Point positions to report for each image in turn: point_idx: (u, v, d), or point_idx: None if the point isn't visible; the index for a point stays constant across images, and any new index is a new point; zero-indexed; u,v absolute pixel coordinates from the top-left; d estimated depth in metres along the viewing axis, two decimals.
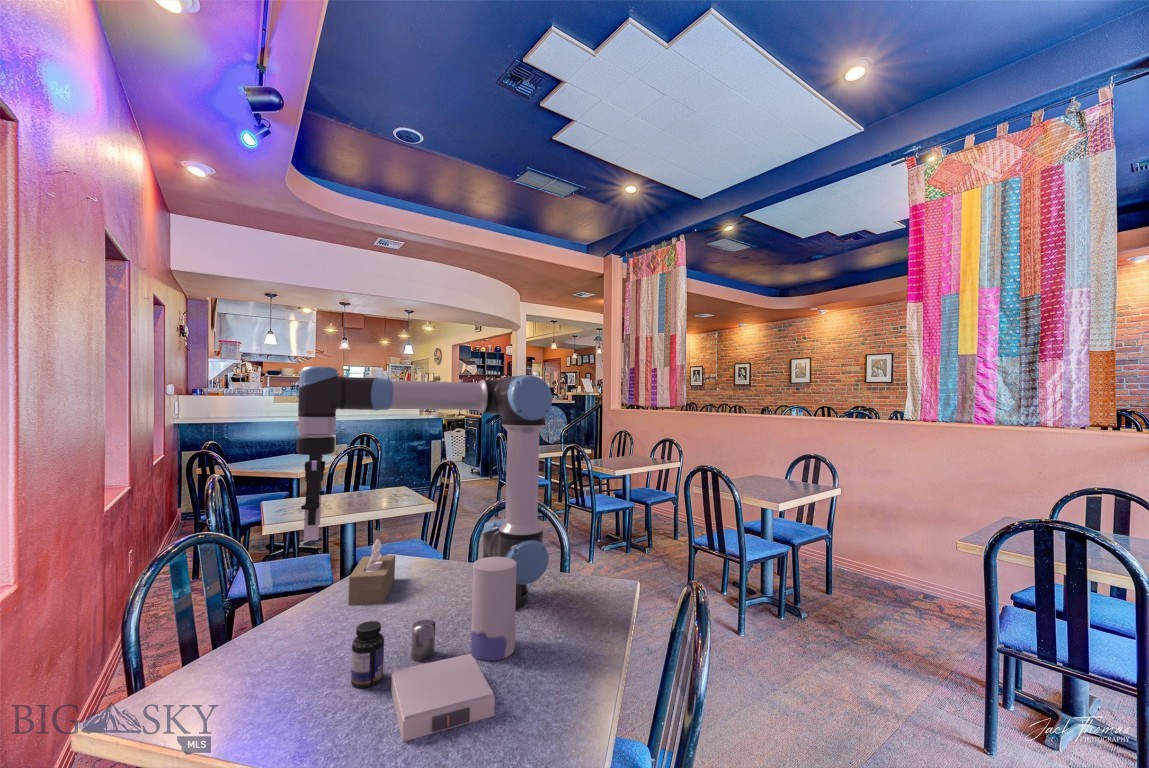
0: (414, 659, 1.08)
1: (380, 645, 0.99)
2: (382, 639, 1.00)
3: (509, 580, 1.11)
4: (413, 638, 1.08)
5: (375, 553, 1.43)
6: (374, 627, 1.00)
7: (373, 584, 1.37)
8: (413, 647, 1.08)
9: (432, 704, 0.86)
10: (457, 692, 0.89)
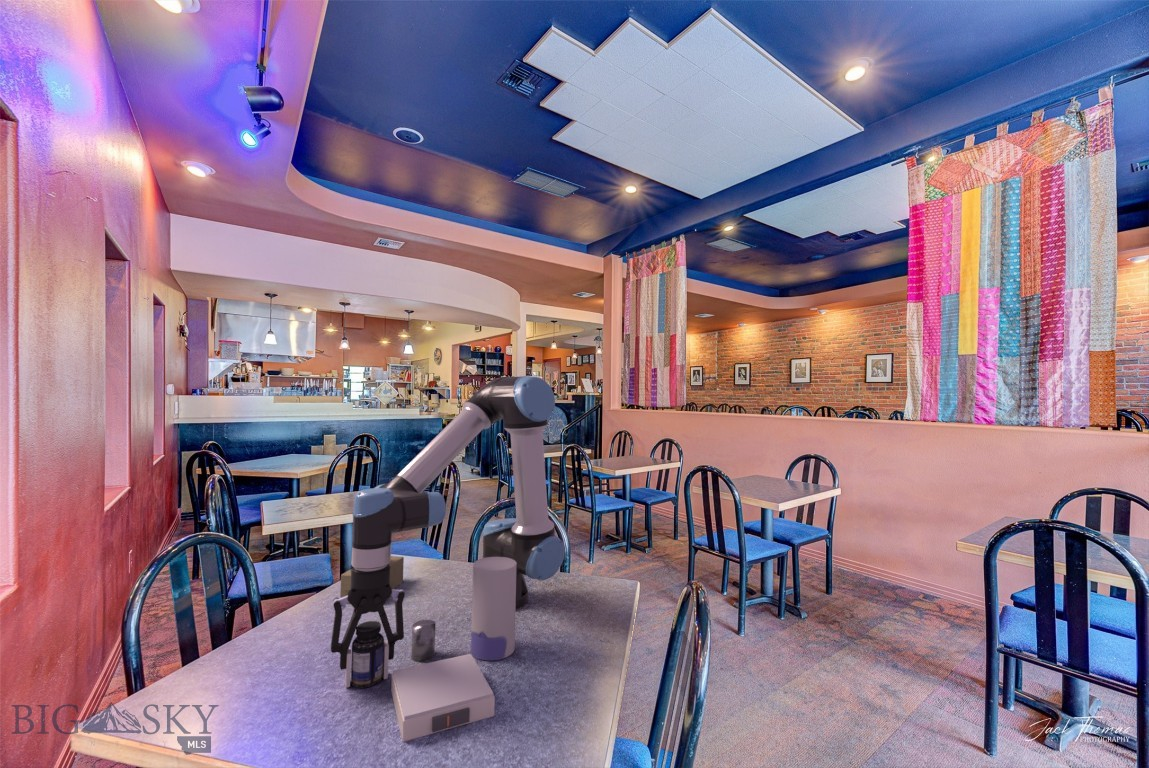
0: (414, 659, 1.08)
1: (380, 645, 0.99)
2: (382, 639, 1.00)
3: (510, 580, 1.11)
4: (413, 638, 1.08)
5: None
6: (374, 627, 1.00)
7: None
8: (413, 647, 1.08)
9: (432, 704, 0.86)
10: (457, 692, 0.89)
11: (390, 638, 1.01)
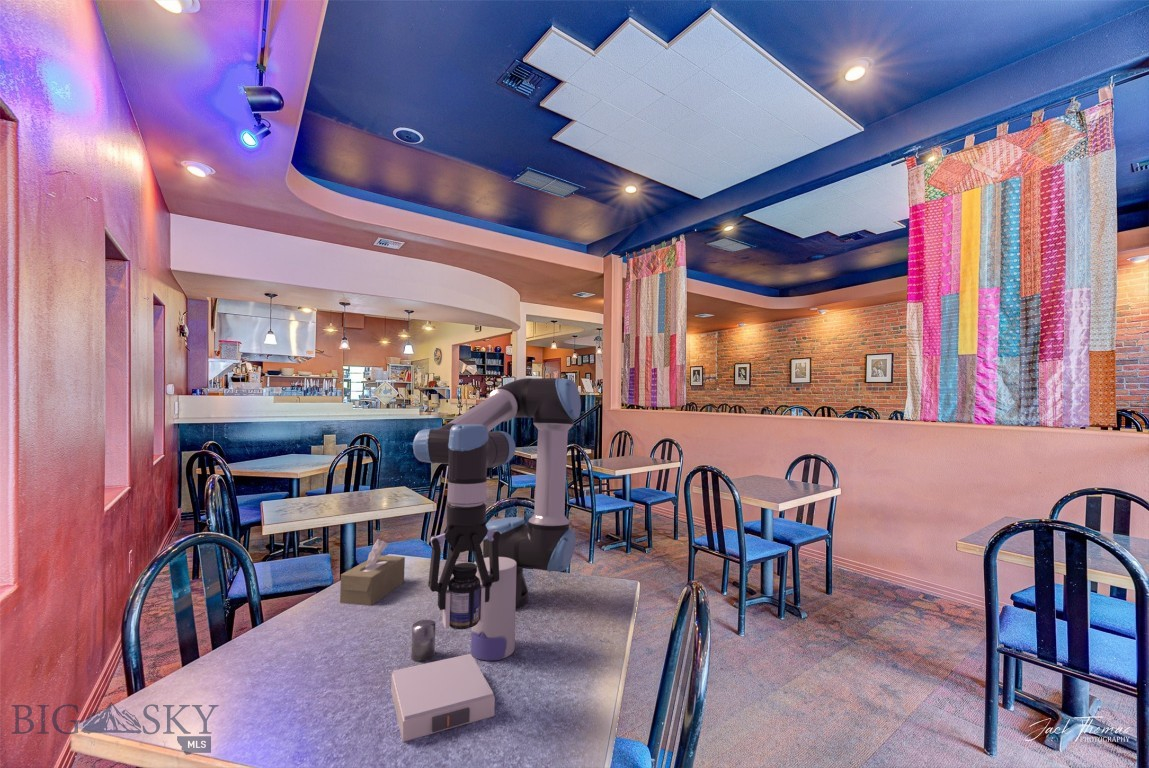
0: (414, 659, 1.08)
1: (478, 586, 0.95)
2: (479, 580, 0.96)
3: (509, 580, 1.11)
4: (413, 638, 1.08)
5: (370, 553, 1.42)
6: (471, 567, 0.95)
7: (361, 584, 1.37)
8: (413, 647, 1.08)
9: (432, 704, 0.86)
10: (457, 692, 0.89)
11: (486, 579, 0.96)
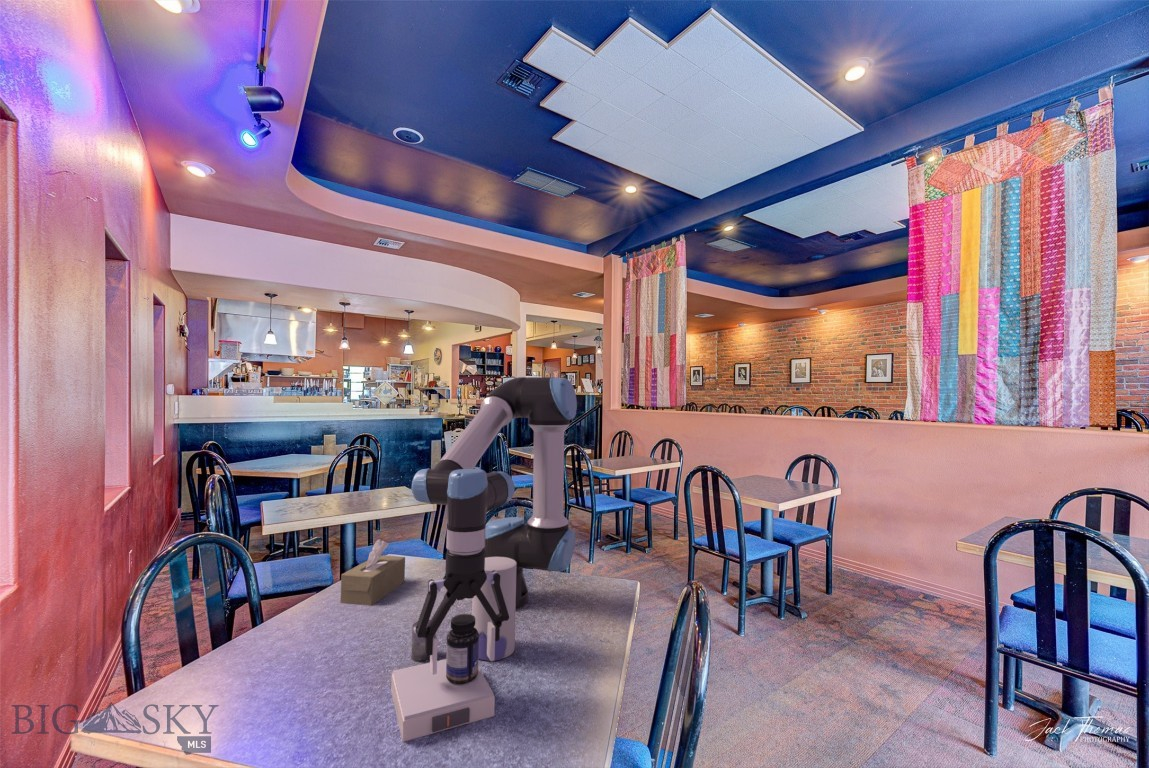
0: (414, 659, 1.08)
1: (476, 640, 0.94)
2: (477, 633, 0.95)
3: (509, 580, 1.11)
4: (413, 638, 1.08)
5: (371, 553, 1.42)
6: (470, 620, 0.94)
7: (362, 584, 1.37)
8: (413, 647, 1.08)
9: (432, 704, 0.86)
10: (457, 692, 0.89)
11: (495, 619, 0.97)
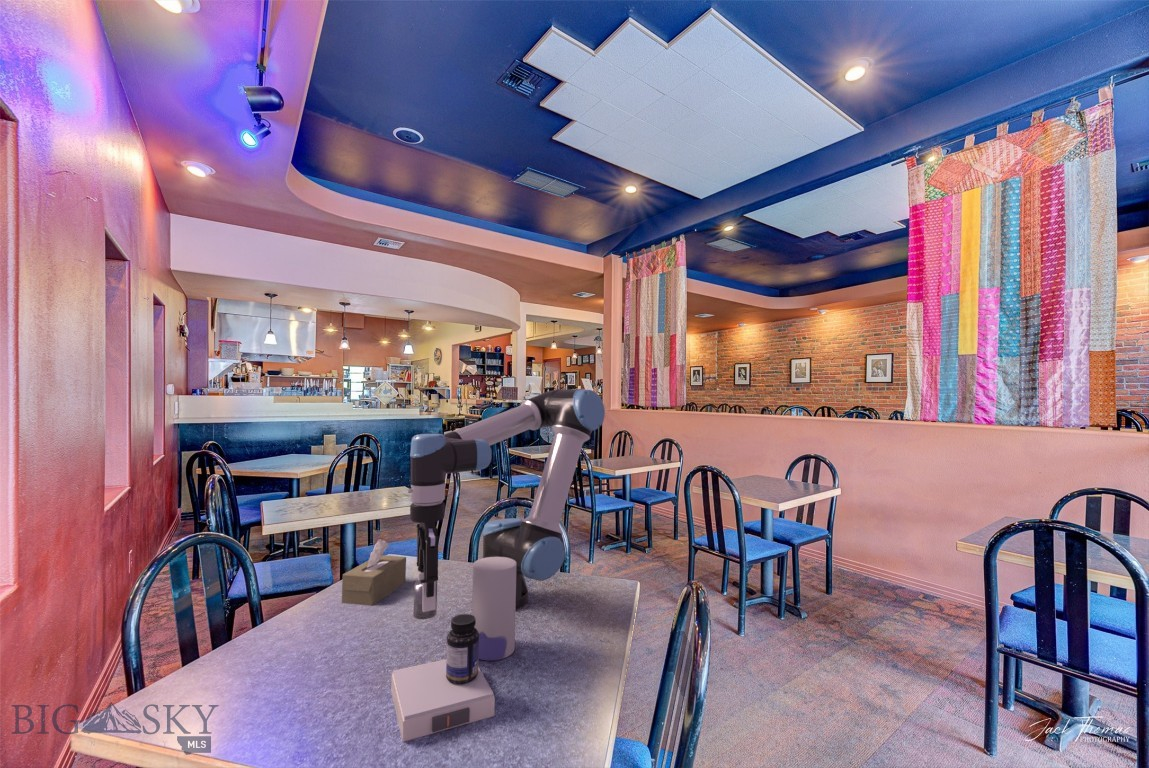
0: (416, 616, 1.08)
1: (477, 640, 0.94)
2: (477, 633, 0.95)
3: (509, 580, 1.11)
4: (415, 596, 1.09)
5: (372, 553, 1.42)
6: (470, 620, 0.95)
7: (363, 584, 1.37)
8: (415, 604, 1.08)
9: (432, 704, 0.86)
10: (457, 692, 0.89)
11: None
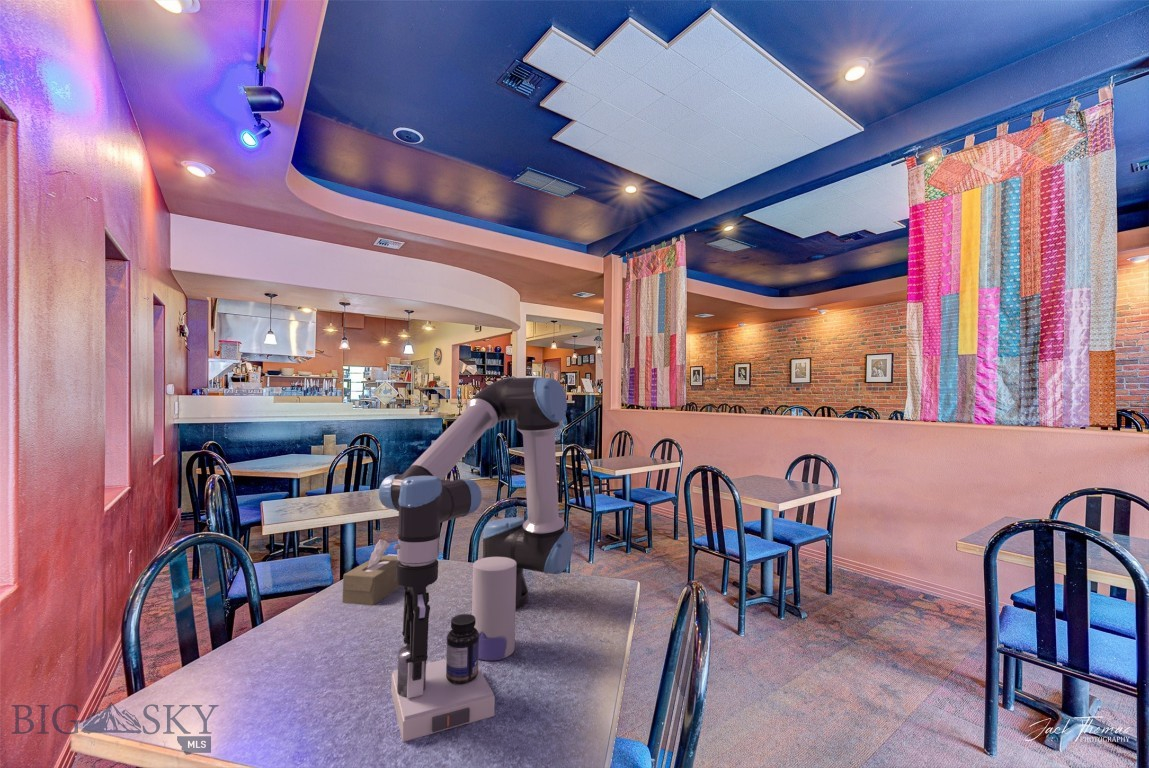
0: (400, 693, 0.88)
1: (477, 640, 0.94)
2: (477, 633, 0.95)
3: (509, 580, 1.11)
4: (399, 668, 0.89)
5: (373, 553, 1.42)
6: (470, 620, 0.95)
7: (364, 584, 1.37)
8: (399, 678, 0.89)
9: (432, 704, 0.86)
10: (457, 692, 0.89)
11: None
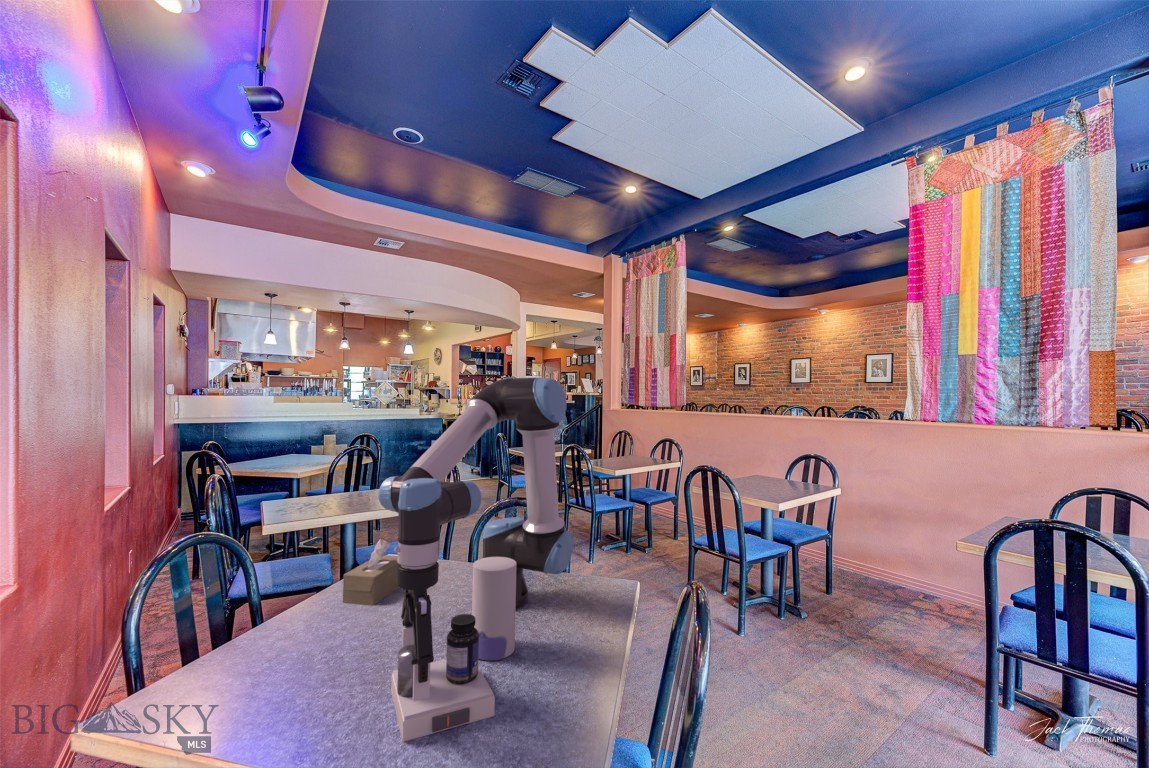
0: (400, 694, 0.88)
1: (477, 640, 0.94)
2: (477, 633, 0.95)
3: (510, 580, 1.11)
4: (399, 668, 0.89)
5: (373, 553, 1.42)
6: (470, 620, 0.95)
7: (364, 584, 1.37)
8: (399, 678, 0.88)
9: (432, 704, 0.86)
10: (457, 692, 0.89)
11: None
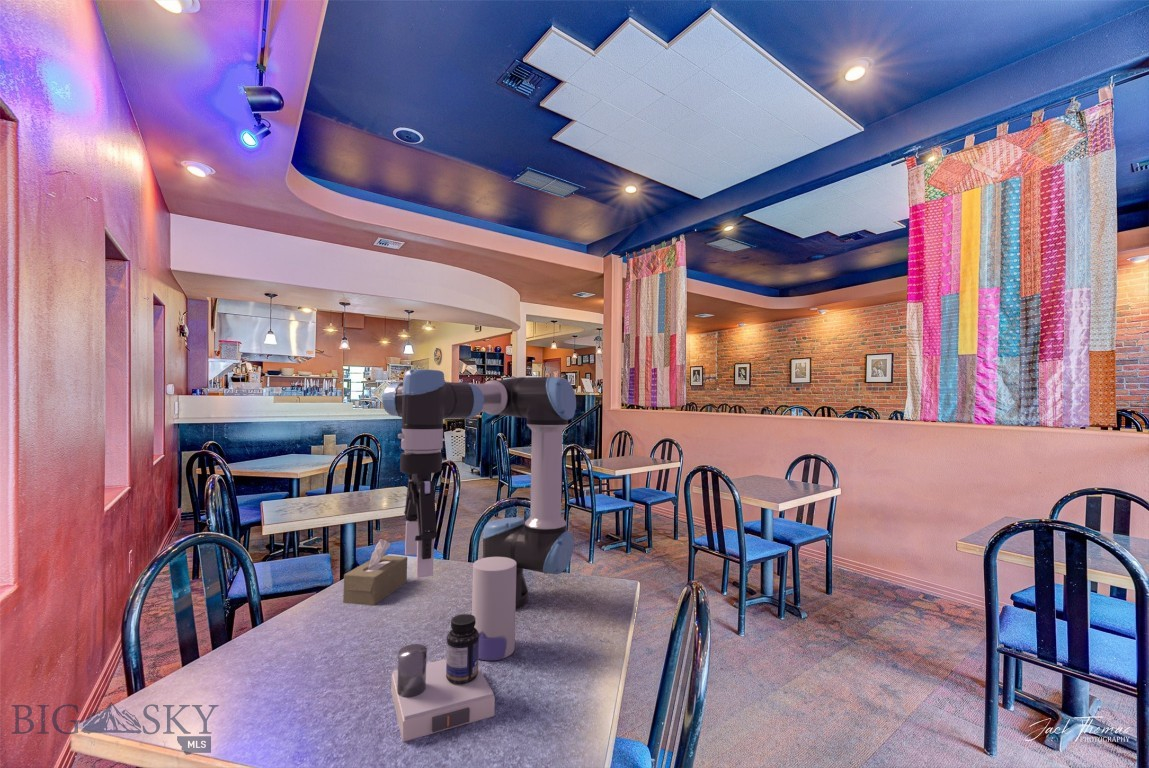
0: (400, 694, 0.88)
1: (477, 639, 0.94)
2: (477, 633, 0.95)
3: (509, 580, 1.11)
4: (399, 668, 0.89)
5: (373, 553, 1.42)
6: (470, 620, 0.95)
7: (364, 584, 1.37)
8: (399, 678, 0.88)
9: (432, 704, 0.86)
10: (457, 692, 0.89)
11: None
